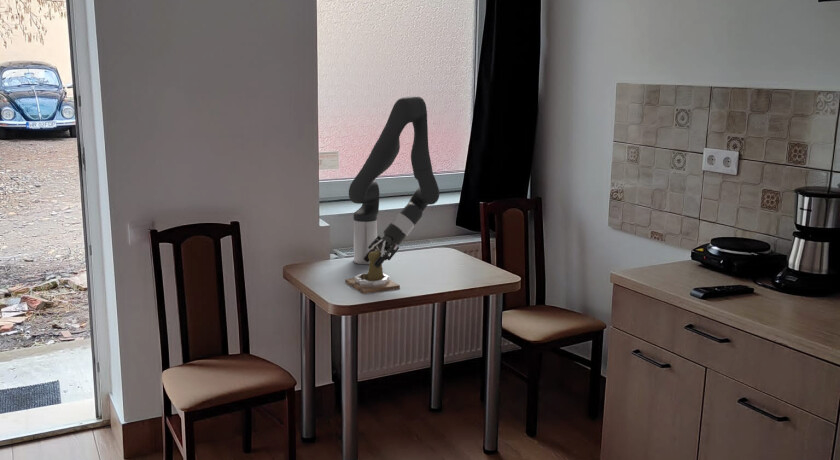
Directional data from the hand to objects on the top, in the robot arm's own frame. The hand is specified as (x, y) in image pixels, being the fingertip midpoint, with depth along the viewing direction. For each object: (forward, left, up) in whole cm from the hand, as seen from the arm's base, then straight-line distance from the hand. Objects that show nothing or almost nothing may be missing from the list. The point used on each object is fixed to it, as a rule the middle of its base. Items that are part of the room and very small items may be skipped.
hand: (370, 263), depth 276 cm
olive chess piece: (0, +2, -7) cm, 7 cm away
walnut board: (0, +1, -8) cm, 8 cm away
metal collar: (0, +1, -7) cm, 7 cm away
